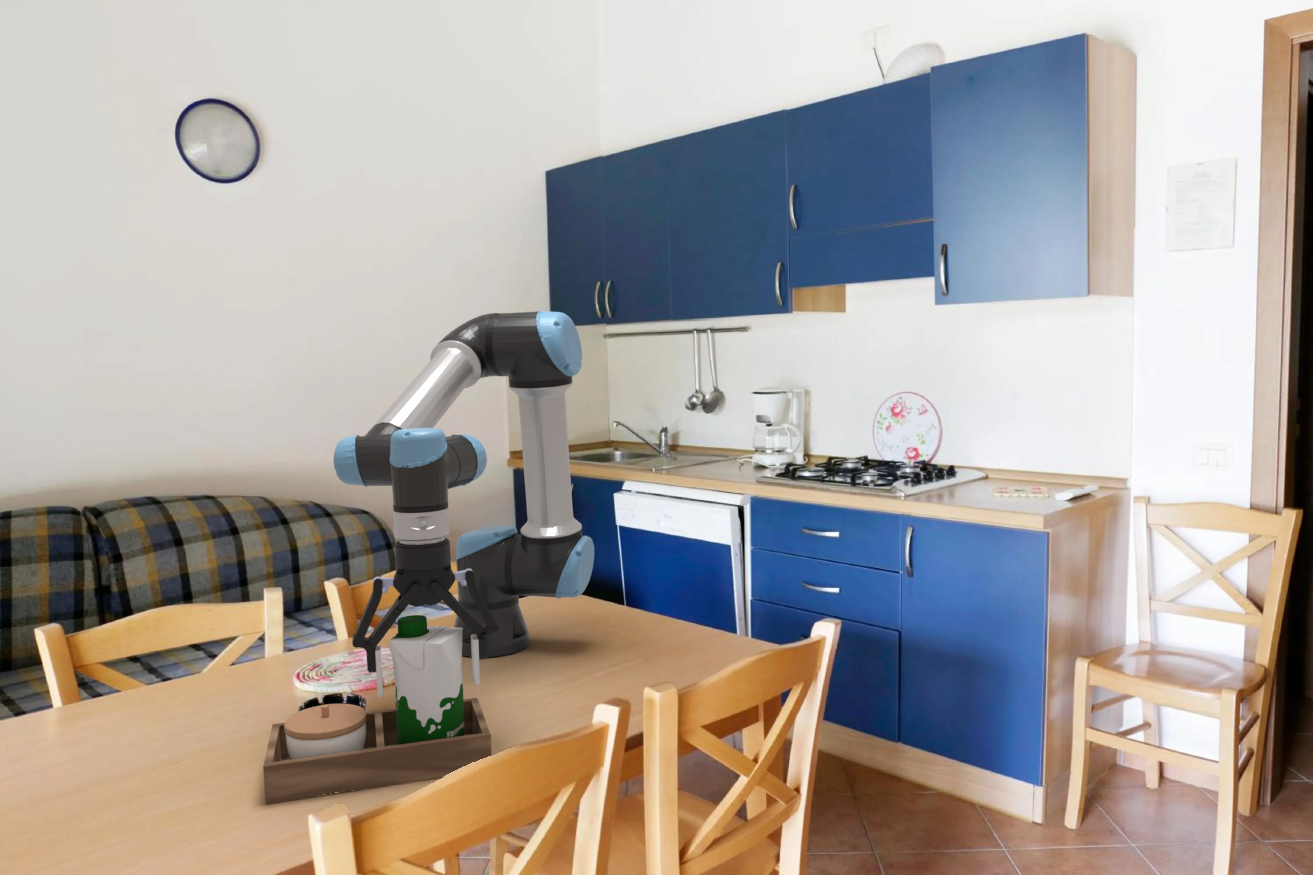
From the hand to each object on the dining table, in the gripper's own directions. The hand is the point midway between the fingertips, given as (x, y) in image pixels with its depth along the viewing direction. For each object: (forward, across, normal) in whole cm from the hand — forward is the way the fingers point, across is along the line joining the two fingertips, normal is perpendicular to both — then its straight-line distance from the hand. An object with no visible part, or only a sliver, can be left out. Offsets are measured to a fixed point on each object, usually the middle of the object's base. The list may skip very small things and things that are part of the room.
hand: (428, 687), depth 135 cm
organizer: (+10, -7, 0) cm, 12 cm away
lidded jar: (+10, -14, 0) cm, 17 cm away
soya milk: (+10, 0, 0) cm, 10 cm away
